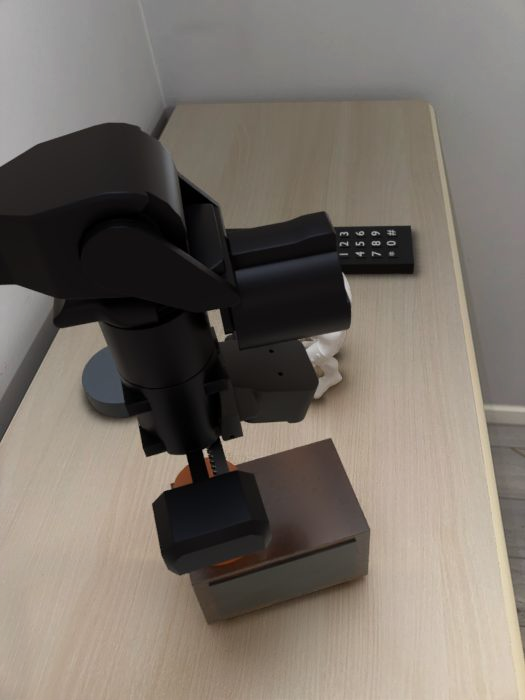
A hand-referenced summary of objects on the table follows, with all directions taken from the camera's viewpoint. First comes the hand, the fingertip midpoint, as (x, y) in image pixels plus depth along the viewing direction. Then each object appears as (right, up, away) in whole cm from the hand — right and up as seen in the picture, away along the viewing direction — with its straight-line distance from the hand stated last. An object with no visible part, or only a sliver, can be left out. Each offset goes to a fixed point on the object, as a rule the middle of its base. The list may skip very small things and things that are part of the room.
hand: (208, 491), depth 50 cm
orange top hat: (0, -3, +3) cm, 4 cm away
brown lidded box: (+5, -8, +10) cm, 14 cm away
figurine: (+10, +8, +25) cm, 28 cm away
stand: (-11, +7, +25) cm, 28 cm away
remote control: (+7, +23, +38) cm, 45 cm away
